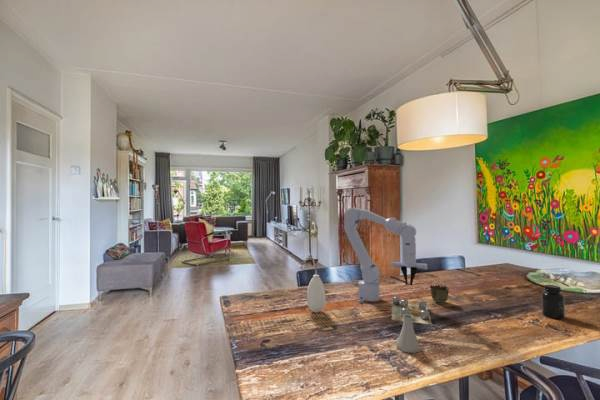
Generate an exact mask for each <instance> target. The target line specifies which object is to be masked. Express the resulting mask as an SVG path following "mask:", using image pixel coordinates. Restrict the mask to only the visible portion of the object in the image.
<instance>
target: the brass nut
mask: <svg viewBox="0 0 600 400" xmlns="http://www.w3.org/2000/svg"><path fill="white" fill-rule="evenodd" d="M407 308H409V314H413V315H419V310H418V306H408V305H407Z"/></svg>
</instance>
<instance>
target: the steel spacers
mask: <svg viewBox="0 0 600 400" xmlns="http://www.w3.org/2000/svg"><path fill="white" fill-rule="evenodd" d="M392 303H393V305H400V303H401V317H403V315H404V314H409V308H407V305H408V304H409V300H408V299H405V298H401V297H400V296H397V295H392ZM417 305H418V309H419V310H421V319H422V320H429V316H430V310H426V306H427V301H424V300H418V304H417Z"/></svg>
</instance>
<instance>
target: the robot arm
mask: <svg viewBox="0 0 600 400" xmlns="http://www.w3.org/2000/svg"><path fill="white" fill-rule="evenodd" d="M343 218H344V223H343V224H344V225H343V226H344V227H343V228H344V232H345V233H346V236H347V238H348V241H349V242H350V245H351V247H352V248H353V249H352V250H353V251H354V253H355V255H356V257H357V259H358V261H359V264H360V271H361V278H362V280H359V281H358V292H357V293H358V295H357V296H358V303H362V304H364V301H368V302H378V301H380V290H381V289H380V279H379V277H380V275H381V270H380V267H378V266H377V265H376V263H375V262H374V261H373V260H372V259H371V256H370V254H369V253H368V251H367V249H366V247H365V244H364V242H363V240H362V239H361V236H360V234H359V232H358V230H357V226H358V225H359V223H360V222H361V220H369V221H371V222H374V223H377V224H379V225H381V226H384V229H385V230H387V231H388V232H390V233H393V234H396V235H398V236H401V261H391V262H390V266H391V268H400V271H401V273H402V275H403V278H404V283H405V285H406V286H408V268H409V269H410V272H409V273H410V278H409V280H410V281H409V283H410V284H409V285H410V286H413V281H414V279H415V276H416V274H417V273H418V269H421V270H422V269H424V270H428V264H427V263H421V262H420V263H419V262H417V260H416V259H417V256H416V255H417V254H416V253H417V251H416V250H417V242H416V237H415V236H416V235H417V229H416V227H414V226H413V225H412V224H407V222H402V221H400V220H398V219H397V218H396V217H389V218H386V217H383V216H381V215H379V214H376V213H374V212H372V211H370V210H368V209H365V208H361V207H350V208H348V209H347V210H345V213H344V215H343Z"/></svg>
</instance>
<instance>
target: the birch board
mask: <svg viewBox="0 0 600 400" xmlns="http://www.w3.org/2000/svg"><path fill="white" fill-rule="evenodd" d="M408 306H418V304H411V303H408ZM418 310H419V309H418ZM426 310H428V307H427V305H426ZM428 311H429V310H428ZM410 315H412V316H413V317H414V319H413V323H419V324H424V325H433V322H432V319H431V316H430V315H429V320H422V319H421V310H419V315H413V314H410ZM391 321H400V322H404V318H403V317H401V302H400V305H393V302H391Z"/></svg>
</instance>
